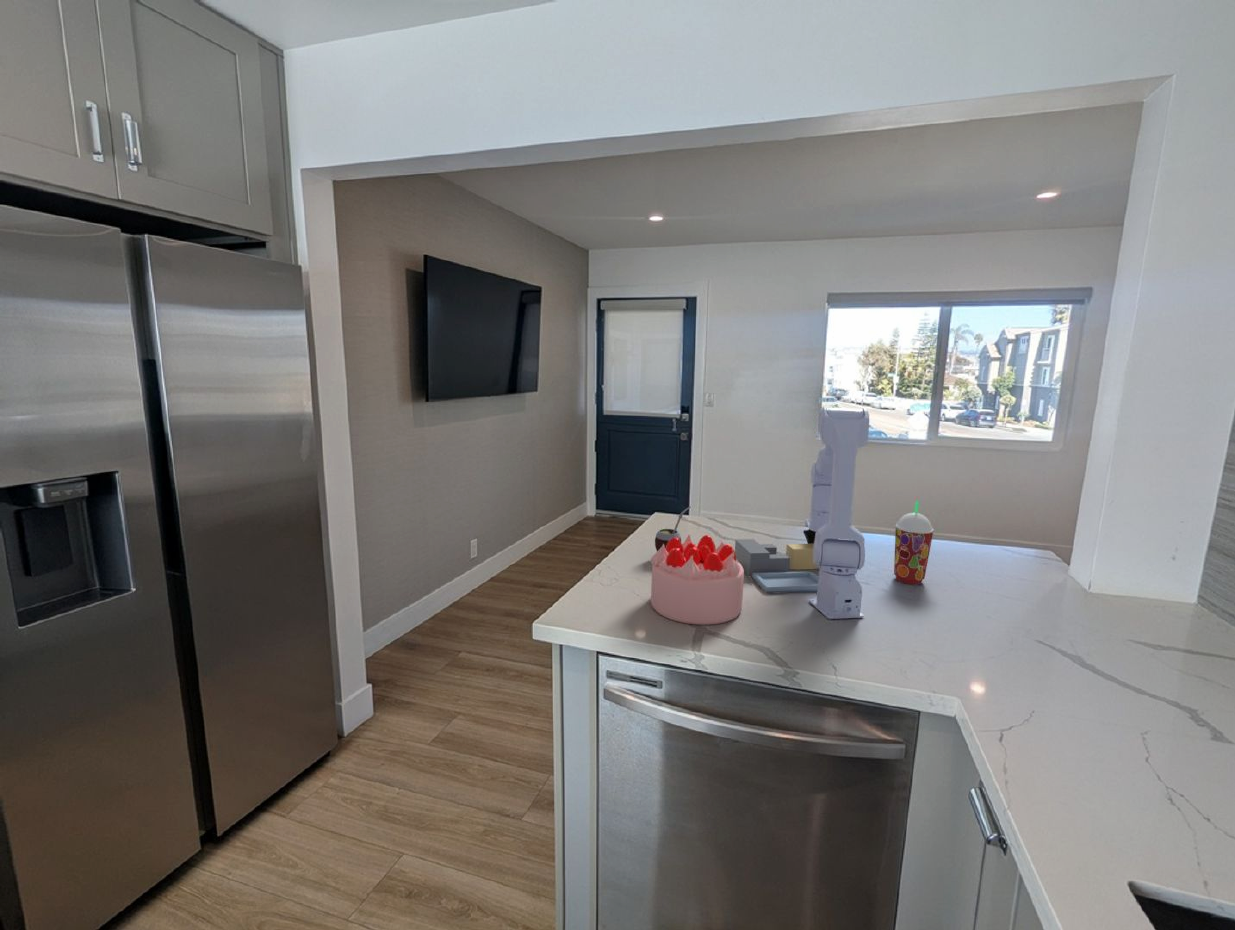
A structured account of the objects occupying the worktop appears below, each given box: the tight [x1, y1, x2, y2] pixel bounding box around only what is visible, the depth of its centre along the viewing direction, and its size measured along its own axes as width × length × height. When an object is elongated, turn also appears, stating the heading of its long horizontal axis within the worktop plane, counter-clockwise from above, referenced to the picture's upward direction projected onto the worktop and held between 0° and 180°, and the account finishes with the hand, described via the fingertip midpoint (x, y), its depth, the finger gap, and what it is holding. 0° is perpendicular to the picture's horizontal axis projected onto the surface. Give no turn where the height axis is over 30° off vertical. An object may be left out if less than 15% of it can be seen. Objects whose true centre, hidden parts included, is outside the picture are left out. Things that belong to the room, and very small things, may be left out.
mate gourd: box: [654, 505, 691, 552], centre depth 155 cm, size 8×8×15 cm
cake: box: [649, 534, 745, 626], centre depth 126 cm, size 20×20×14 cm
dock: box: [734, 538, 791, 577], centre depth 151 cm, size 11×10×6 cm
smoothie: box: [893, 501, 934, 586], centre depth 143 cm, size 8×8×20 cm
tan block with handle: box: [785, 543, 819, 571], centre depth 153 cm, size 4×11×6 cm, turn 98°
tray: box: [752, 570, 819, 594], centre depth 140 cm, size 9×15×2 cm, turn 98°
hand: (818, 560), depth 153 cm, fingers closed on tan block with handle, 4 cm apart
